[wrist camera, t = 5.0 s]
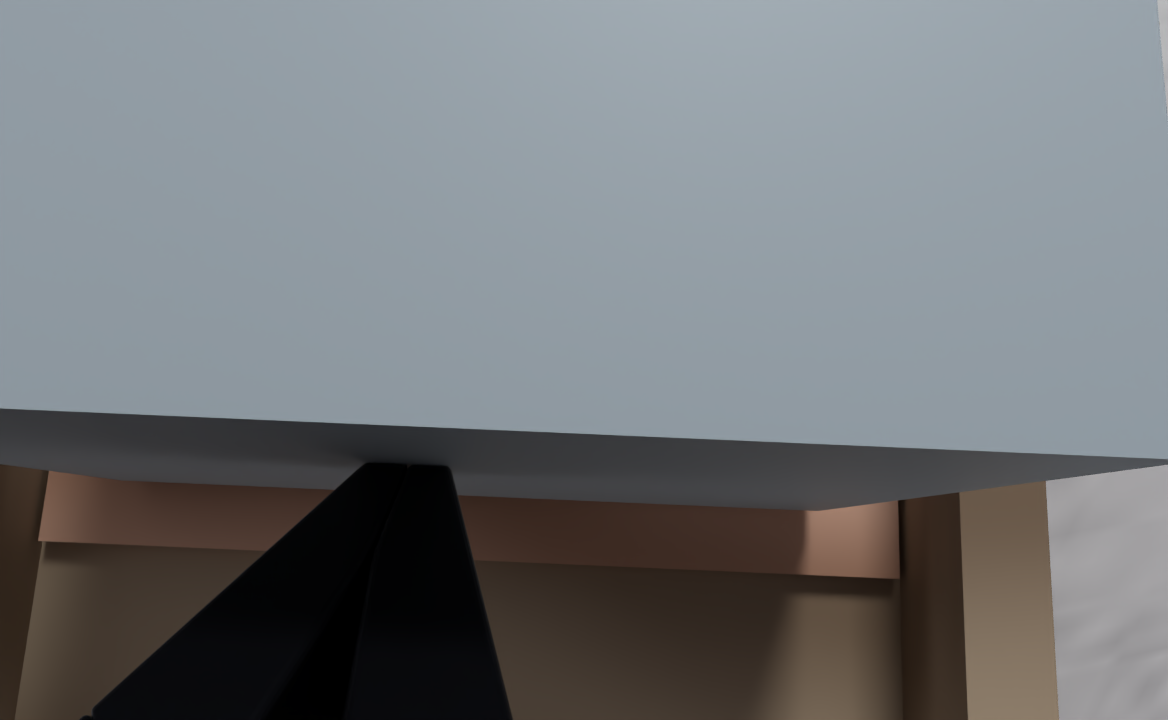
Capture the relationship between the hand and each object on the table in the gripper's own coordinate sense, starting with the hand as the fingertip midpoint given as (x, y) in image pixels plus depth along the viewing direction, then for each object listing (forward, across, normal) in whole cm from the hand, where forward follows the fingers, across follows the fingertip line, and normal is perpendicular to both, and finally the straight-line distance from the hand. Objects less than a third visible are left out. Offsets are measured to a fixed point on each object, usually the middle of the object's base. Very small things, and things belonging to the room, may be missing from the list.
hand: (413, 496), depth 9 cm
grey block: (+6, 0, +2) cm, 6 cm away
